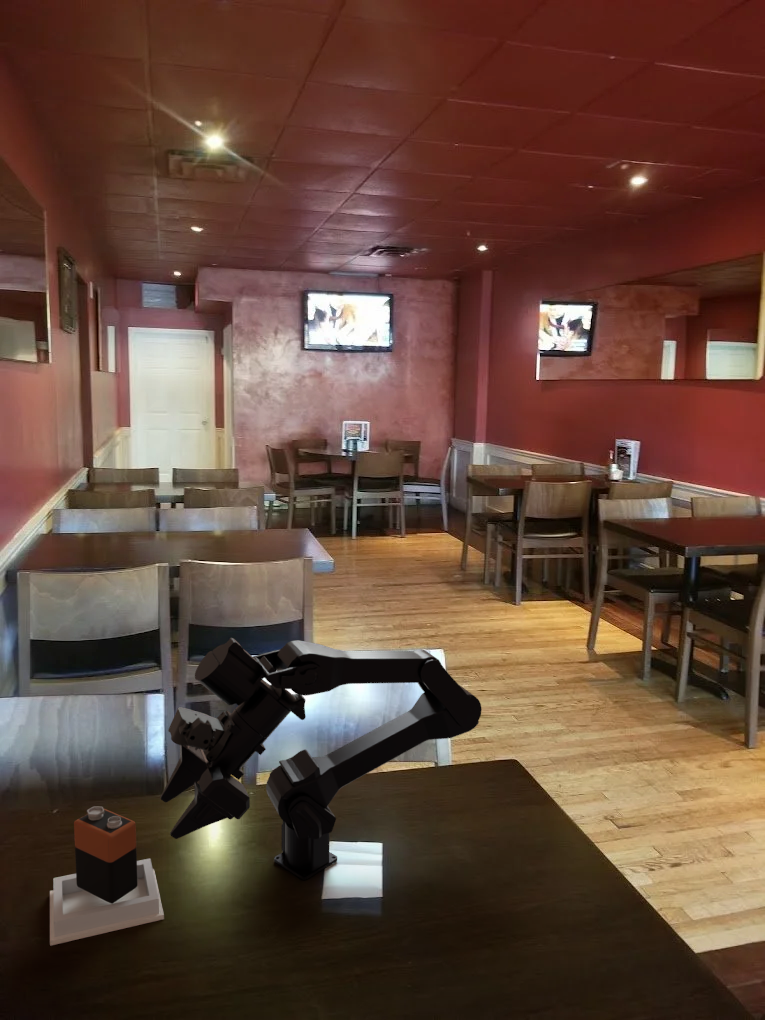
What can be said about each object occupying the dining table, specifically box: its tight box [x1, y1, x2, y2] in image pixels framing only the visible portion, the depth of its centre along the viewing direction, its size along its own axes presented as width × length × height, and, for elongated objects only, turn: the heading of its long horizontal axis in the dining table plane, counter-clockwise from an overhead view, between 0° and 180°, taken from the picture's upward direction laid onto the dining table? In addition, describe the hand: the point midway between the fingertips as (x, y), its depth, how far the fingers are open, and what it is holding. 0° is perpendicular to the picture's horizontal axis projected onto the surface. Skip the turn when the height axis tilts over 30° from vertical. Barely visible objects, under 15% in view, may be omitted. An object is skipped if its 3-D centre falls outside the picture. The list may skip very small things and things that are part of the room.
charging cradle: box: [49, 858, 165, 947], centre depth 100 cm, size 13×10×3 cm
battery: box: [73, 805, 138, 903], centre depth 99 cm, size 4×7×10 cm, turn 59°
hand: (167, 817), depth 101 cm, fingers open, 9 cm apart
